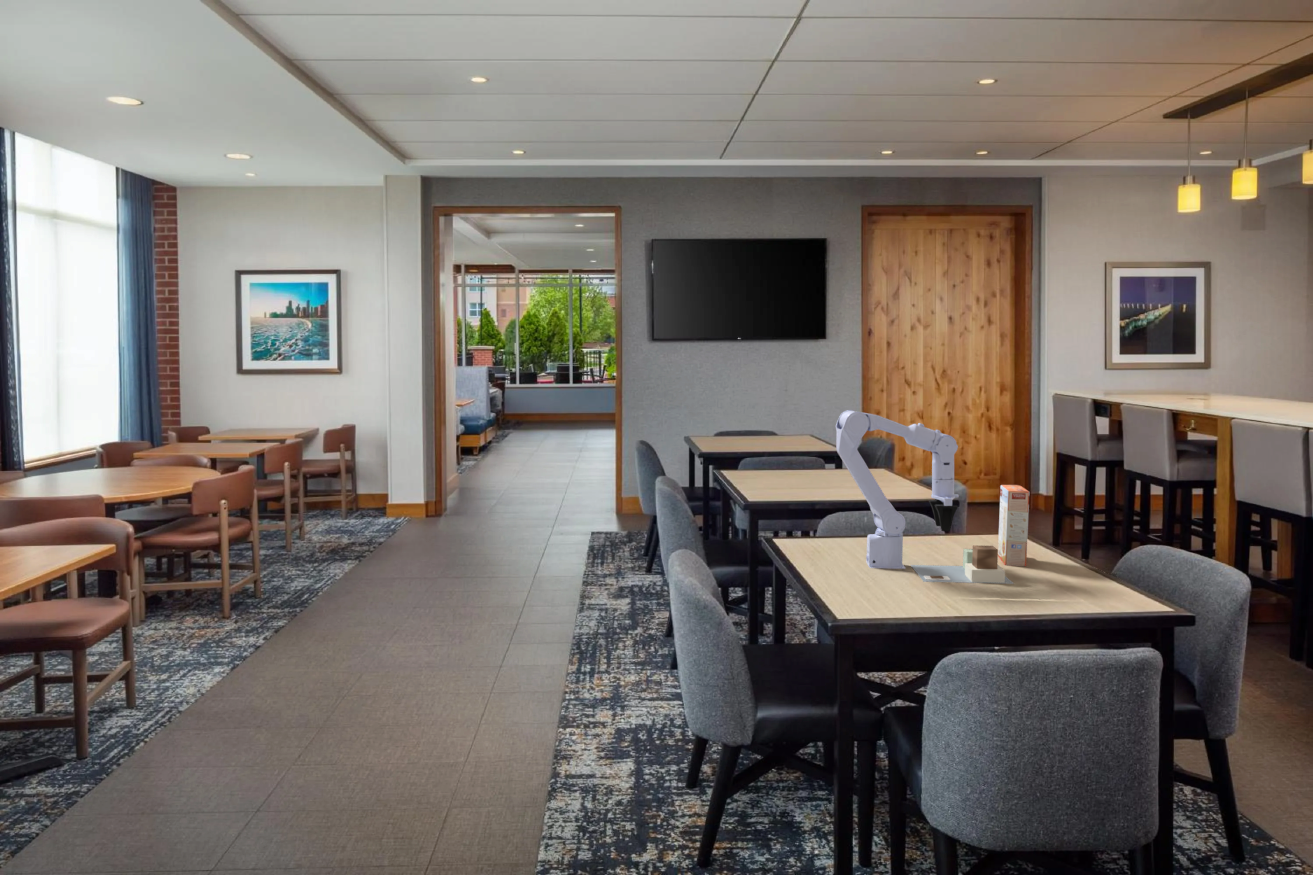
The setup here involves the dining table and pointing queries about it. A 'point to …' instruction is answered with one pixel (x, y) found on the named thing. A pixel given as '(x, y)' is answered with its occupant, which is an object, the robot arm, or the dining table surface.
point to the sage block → (967, 556)
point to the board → (946, 574)
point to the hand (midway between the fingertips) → (943, 528)
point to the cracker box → (1013, 525)
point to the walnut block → (984, 557)
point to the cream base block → (984, 574)
